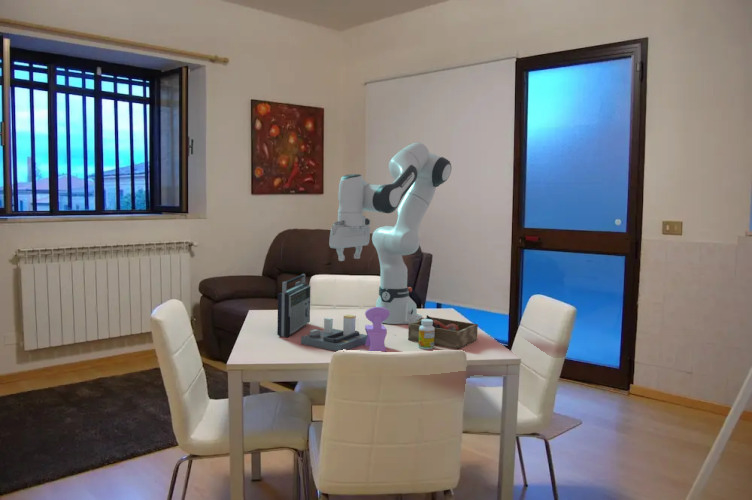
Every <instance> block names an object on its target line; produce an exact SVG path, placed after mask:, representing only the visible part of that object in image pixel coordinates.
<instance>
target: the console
mask: <svg viewBox="0 0 752 500" xmlns="http://www.w3.org/2000/svg"><path fill="white" fill-rule="evenodd" d="M333 322H334V320H333V318H331V317H325V318H323V330H320V329H317V328H316V329H315V328H314V329H310V330H309V334H306V335H304V336H301V337H300V344H301V345H303V346H309V347H313V348H318V349H323V350H326V351H334V352H337V351H338V350H343V349H349V350H351V349H354V348H357V347H359V346H363V345H365V344H366V341H367V334H363V333H360V331H358V330H355V333H352V334H349V335H346V336H344V335H343V329H338V328H337V329H336V328H333Z"/></svg>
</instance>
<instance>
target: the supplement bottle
mask: <svg viewBox="0 0 752 500" xmlns="http://www.w3.org/2000/svg"><path fill="white" fill-rule="evenodd" d="M421 319H422V321H421V324H422V325H421V326H420V327H419V342H418V348H419V349H421V350H433V349H434V348H435V345H434V335H435V328H434V327H433V326H432V325H433V320H431V319H424V318H421Z"/></svg>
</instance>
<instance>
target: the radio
mask: <svg viewBox="0 0 752 500" xmlns="http://www.w3.org/2000/svg"><path fill="white" fill-rule="evenodd" d="M297 280H298V281H297ZM299 280H300V281H299ZM294 281H297V282H295V286H293V287H289V288H287V285H288V284H291V283H292V282H294ZM281 284H282V286H281V287H282V288H281V289H282V290H281V291H282V292H280V293H278V294H277V327H276V329H277V331H276V332H277V334H276V335H277V336H278V337H282V338H283V337H284V338H285V337H286V338H287V337H289V336H291V335H292V334H295V332H297V331H298V330H300V329H301V328H303V327H304V326H306V325H307V324H309V323H310V321H311V285H309V284H307V283H306V273H302V274H301V275H298V276H296V277H293V278H291V279H288V280H285V281H282V283H281Z"/></svg>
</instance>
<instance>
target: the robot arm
mask: <svg viewBox="0 0 752 500" xmlns="http://www.w3.org/2000/svg"><path fill="white" fill-rule="evenodd" d="M388 171H389V173H390V175H391V177H392V178H393V179H394V180H393V182H391V183H388V184H386V183H385V184H370V183H369V182H367V181H366V180H364V179H363V175H361V174H357V173H352V174H345V175H342V177H341V178H340V180H339V185H338V199H337V201H338V204H339V205H338V206H339V207H338V209H337V221H334V222H333V224H332V225H331V229H330V233H329V239H328V241H329V243H328V245H329V248H331V249H336V250H335V251H336V253H337V256H338V261H339V262H345V260H346V255H344V251H345V248H348V249H349V248H355V253H353V259H356V260H358V259H361V254H362V250H363V246H365V247H366V246H369V243H370V239H371V241H372V245H373V246H374V248H375V250H376V253H377V255H378V256H377V257H378V261H379V266H380V269H379V270H380V276H379V277H380V280H379V281H380V285H379V286H378V287H379V288H378V295H379V297H378V298H377V299H376V302H375V303H376V304H375V307H383V308H386V309H387V310H389V313H390V314H389V317H388V318H387V319H386V320H384V321H383V322H382V324H389V325H404V324H405V325H409V324H410V323H413V322H416V321H419V320H421V319H423V315H422V314H419V313H418V308H417V303H416V302H415V301H414V300H413V299H412V298H411V297H410V293H412V291H413V288H412V287H411V286H408V270H409V269H408V267H407V265H406V263H405V261H404V259H403V256H408V255H412V254H415V253H416V252H417V251H418V249H419V247H420V243H421V242H420V241H421V240H420V236H419V230H420V225H421V223H422V220H423V218H424V216H425V214H426V212H427V210H428V208H430V204H431V202H432V200H433V198H434V195H435V193H436V188H438V187H439V186H441V185H443V184H444V183H445V182H447V180H448V179H449V178H450V176H451V173H452V164H451V161H450V160H449V159H448V158H445V157H444V156H440V155H437V154H435V153H432V152H430V151H429V148H428V147H427V146H426V145H425V144H424V143H421V142H413V143H411V144H409V145H407V146H405V147H404V148H401V150H399V151H398V152H397V153H396V154H395V155H394V156H392V158H391V159H390V161H388ZM395 211H396V214H397V220H396V223H395V225H394V226H391V225H384V226H380V227H377V228H376V229H375V230H374V231H373V233H372V235H371V228H370V226H371V223H372V221H371V219H370V218H369V217H366V216H365V215H364V212H377V213H381V214H382V213H383V214H392V213H394V212H395ZM370 235H371V236H370Z"/></svg>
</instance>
